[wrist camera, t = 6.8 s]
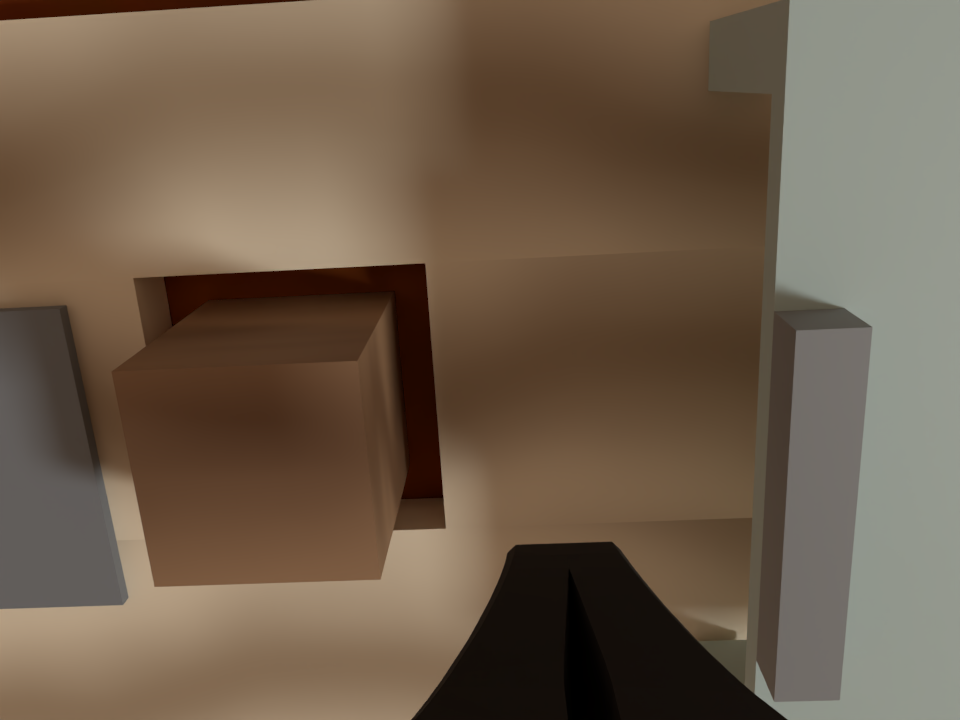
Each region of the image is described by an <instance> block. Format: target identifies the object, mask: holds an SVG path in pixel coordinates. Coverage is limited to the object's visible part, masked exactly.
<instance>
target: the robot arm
mask: <svg viewBox="0 0 960 720" xmlns="http://www.w3.org/2000/svg"><path fill="white" fill-rule="evenodd" d="M411 720H788V719H786V718H785V717H784V716H782V715H781V714H780V713H779V712H777V711H776V710H775V709H773V708H772V707H771V706H770V705H768V704H767V703H766V702H764V701H763V700H762V699H761V698H759V697H758V696H757V695H755V694H754V693H753V692H752V691H751V690H749V689H748V688H747V687H746V686H745V685H744V684H743V683H741V682H740V681H739V680H738V679H737V678H736V677H735V676H734V675H733V674H732V673H731V672H730V671H728V670H727V669H726V668H725V667H724V666H723V665H722V664H721V663H720V662H719V661H718V660H717V659H716V658H715V657H714V656H712V655H711V654H710V653H709V652H708V651H707V650H706V649H705V648H704V647H703V646H702V645H701V644H700V643H699V642H698V641H697V640H696V639H695V637H694V636H693V635H692V634H691V633H690V632H689V631H688V630H687V629H686V628H685V627H684V626H683V625H682V623H681V622H680V621H679V620H678V619H677V618H676V617H675V616H674V615H673V614H672V613H671V612H670V611H669V609H668V608H667V607H666V606H665V605H664V604H663V603H662V601H661V600H660V599H659V598H658V597H657V596H656V594H655V593H654V592H653V591H652V590H651V588H650V587H649V586H648V585H647V584H646V582H645V581H644V580H643V579H642V577H641V576H640V575H639V574H638V572H637V571H636V570H635V569H634V567H633V566H632V565H631V563H630V562H629V561H628V559H627V558H626V557H625V555H624V554H623V552H622V551H621V550H620V549H619V548H618V547H617V546H616V545H615V544H614V543H613V542H582V543H552V544H522V545H515V546H514V547H513V548H512V549H511V550H510V551H509V552H508V553H507V556H506V561H505V564H504V567H503V570H502V573H501V575H500V578H499V580H498V583H497V585H496V587H495V589H494V592H493V594H492V596H491V598H490V600H489V602H488V604H487V606H486V608H485V610H484V611H483V613H482V615H481V617H480V619H479V621H478V623H477V624H476V626H475V628H474V630H473V632H472V634H471V635H470V637H469V639H468V640H467V642H466V644H465V645H464V647H463V648H462V650H461V651H460V653H459V654H458V656H457V657H456V659H455V660H454V662H453V663H452V665H451V666H450V668H449V670H448V671H447V673H446V674H445V676H444V677H443V679H442V680H441V682H440V683H439V684H438V686H437V687H436V688H435V690H434V691H433V692H432V694H431V695H430V697H429V698H428V699H427V701H426V702H425V703H424V704H423V706H422V707H421V708H420V710H419V711H418V712H417V713H416V714H415V716H414V717H413V718H412V719H411Z"/></svg>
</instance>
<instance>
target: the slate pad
mask: <svg viewBox="0 0 960 720" xmlns="http://www.w3.org/2000/svg"><path fill="white" fill-rule="evenodd" d="M128 598H129V597H128V592H127V588H126V583H125V578H124V574H123V569H122V564H121V559H120V555H119V550H118V545H117V541H116V536H115V531H114V527H113V522H112V517H111V512H110V508H109V503H108V498H107V494H106V489H105V484H104V479H103V475H102V470H101V465H100V461H99V456H98V451H97V447H96V442H95V437H94V432H93V428H92V423H91V418H90V414H89V409H88V404H87V400H86V395H85V390H84V385H83V381H82V376H81V371H80V367H79V362H78V357H77V352H76V348H75V343H74V338H73V334H72V329H71V324H70V320H69V315H68V310H67V305H62V306H41V307H21V308H0V609H18V608H49V607H80V606H111V605H124V603H125V602H126V600H127V599H128Z"/></svg>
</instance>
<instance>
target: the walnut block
mask: <svg viewBox="0 0 960 720" xmlns="http://www.w3.org/2000/svg"><path fill="white" fill-rule="evenodd" d="M112 377H113V382H114V387H115V392H116V397H117V402H118V407H119V412H120V417H121V422H122V427H123V432H124V437H125V442H126V447H127V452H128V457H129V462H130V467H131V472H132V477H133V482H134V487H135V492H136V497H137V502H138V507H139V512H140V517H141V522H142V527H143V532H144V537H145V542H146V547H147V552H148V557H149V562H150V567H151V572H152V577H153V582H154V587H171V586H202V585H232V584H263V583H294V582H324V581H355V580H381V576H382V572H383V568H384V564H385V560H386V556H387V552H388V549H389V545H390V541H391V537H392V533H393V529H394V525H395V521H396V517H397V513H398V509H399V505H400V501H401V497H402V493H403V489H404V485H405V481H406V477H407V473H408V469H409V465H410V459H409V448H408V437H407V426H406V415H405V403H404V392H403V381H402V370H401V358H400V347H399V336H398V325H397V314H396V302H395V291H388V292H368V293H347V294H326V295H305V296H284V297H263V298H243V299H222V300H208V301H207V302H205V303H204V304H203V305H201V306H200V307H198V308H197V309H196V310H194V311H193V312H192V313H190V314H189V315H188V316H186V317H185V318H184V319H182V320H181V321H180V322H178V323H177V324H175V325H174V326H173V327H171V328H170V329H169V330H167V331H166V332H165V333H163V334H162V335H161V336H159V337H158V338H156V339H155V340H154V341H152V342H151V343H150V344H148V345H147V346H146V347H144V348H143V349H142V350H140V351H139V352H137V353H136V354H135V355H133V356H132V357H131V358H129V359H128V360H127V361H125V362H124V363H123V364H121V365H120V366H119V367H117V368H116V369H114V370H113V371H112Z"/></svg>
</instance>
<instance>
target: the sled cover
mask: <svg viewBox="0 0 960 720" xmlns="http://www.w3.org/2000/svg"><path fill="white" fill-rule="evenodd" d="M708 91H720V92H741V93H761V94H772V100H771V122H770V144H769V166H768V187H767V209H766V231H765V253H764V274H763V296H762V318H761V339H760V361H759V383H758V405H757V426H756V448H755V470H754V492H753V513H752V535H751V557H750V578H749V600H748V622H747V640H721V641H698V642H699V643H700V644H701V645H702V646H703V647H704V648H705V649H706V650H707V651H708V652H709V653H710V654H711V655H712V656H714V657H715V658H716V659H717V660H718V661H719V662H720V663H721V664H722V665H723V666H724V667H725V668H726V669H727V670H728V671H730V672H731V673H732V674H733V675H734V676H735V677H736V678H737V679H738V680H739V681H740V682H741V683H743V684H744V685H745V686H746V687H747V688H748V689H749V690H751V691H752V692H753V693H754V694H755V695H757V696H758V697H759V698H761V699H762V700H763V701H764V702H766V703H767V704H768V705H770V706H771V707H772V708H773V709H775V710H776V711H777V712H779V713H780V714H781V715H782V716H784V717H785V718H786V719H788V720H960V0H781V1H777V2H774V3H770V4H767V5H764V6H760V7H757V8H754V9H750V10H747V11H743V12H740V13H737V14H733V15H730V16H726V17H723V18H720V19H716V20H713V21H710V38H709V80H708Z"/></svg>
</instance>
